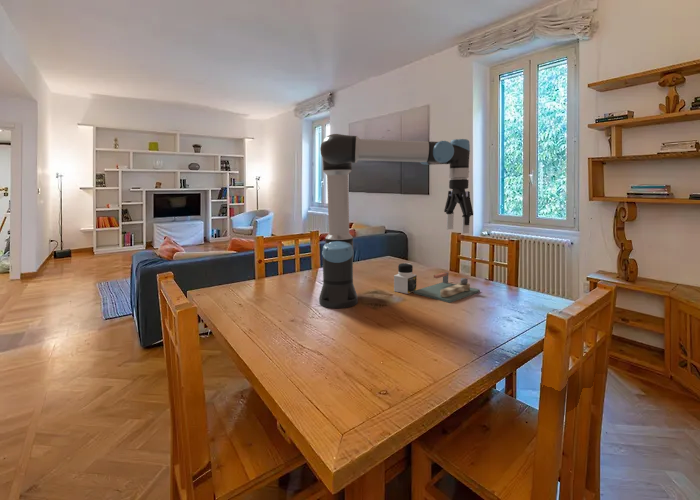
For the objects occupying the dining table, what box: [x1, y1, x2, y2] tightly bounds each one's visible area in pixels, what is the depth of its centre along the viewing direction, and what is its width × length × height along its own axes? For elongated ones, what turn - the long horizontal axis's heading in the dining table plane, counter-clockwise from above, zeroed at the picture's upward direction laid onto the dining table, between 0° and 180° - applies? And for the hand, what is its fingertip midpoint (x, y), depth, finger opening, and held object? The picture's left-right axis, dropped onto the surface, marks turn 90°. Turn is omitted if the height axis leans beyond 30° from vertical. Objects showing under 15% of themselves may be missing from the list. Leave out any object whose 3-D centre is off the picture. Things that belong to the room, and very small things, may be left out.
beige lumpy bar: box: [440, 282, 471, 297], centre depth 157 cm, size 18×5×2 cm, turn 131°
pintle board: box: [413, 271, 481, 304], centre depth 162 cm, size 22×18×6 cm
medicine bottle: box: [393, 262, 417, 294], centre depth 164 cm, size 7×7×12 cm
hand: (457, 231), depth 158 cm, fingers open, 13 cm apart
